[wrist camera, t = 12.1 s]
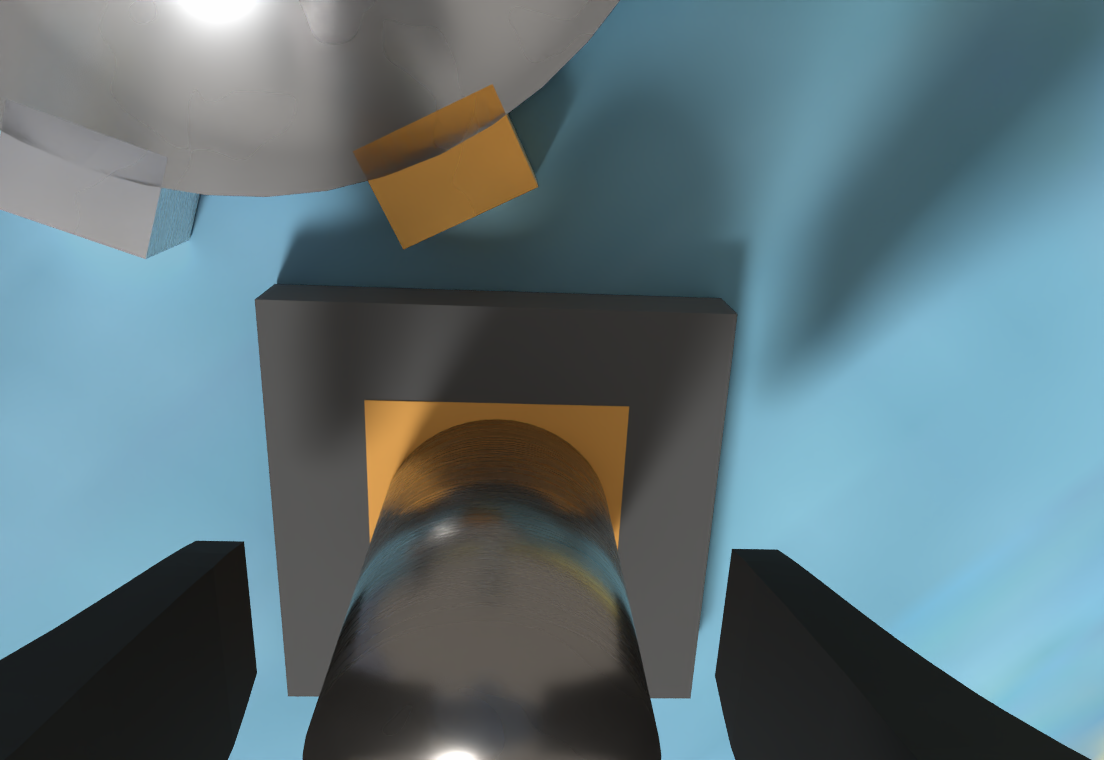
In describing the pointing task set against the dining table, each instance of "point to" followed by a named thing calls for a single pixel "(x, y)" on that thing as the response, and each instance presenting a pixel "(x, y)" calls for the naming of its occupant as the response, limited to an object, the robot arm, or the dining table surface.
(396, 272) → the dining table surface
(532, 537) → the roller
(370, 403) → the pad
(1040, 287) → the dining table surface
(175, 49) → the sprocket
